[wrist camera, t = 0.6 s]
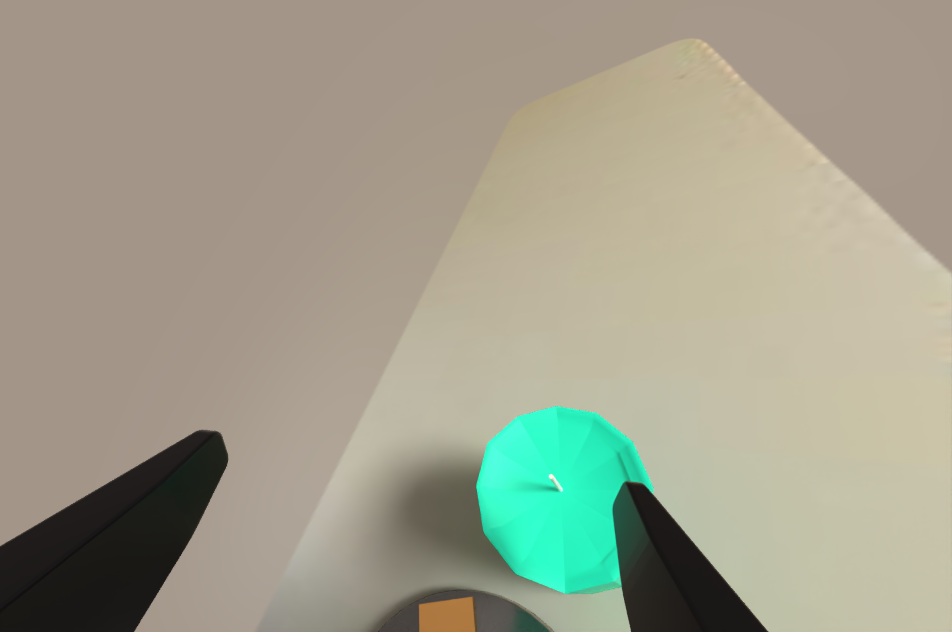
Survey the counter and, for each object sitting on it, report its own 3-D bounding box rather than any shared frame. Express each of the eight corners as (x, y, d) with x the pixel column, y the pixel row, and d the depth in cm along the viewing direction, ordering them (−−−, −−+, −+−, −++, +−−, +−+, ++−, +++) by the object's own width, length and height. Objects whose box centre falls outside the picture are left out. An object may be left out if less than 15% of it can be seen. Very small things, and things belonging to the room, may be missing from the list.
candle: (514, 545, 22) (427, 511, 13) (563, 451, 24) (518, 362, 15) (618, 623, 19) (602, 652, 10) (665, 506, 21) (688, 437, 12)
